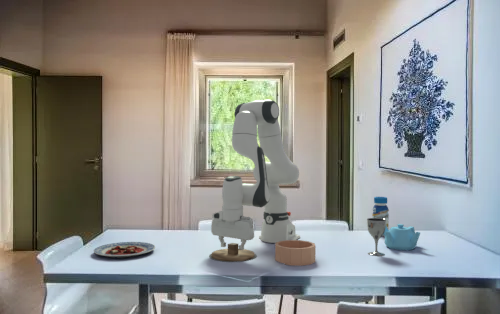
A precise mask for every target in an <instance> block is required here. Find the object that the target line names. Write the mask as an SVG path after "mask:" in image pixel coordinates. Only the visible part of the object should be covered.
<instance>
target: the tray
mask: <svg viewBox="0 0 500 314" xmlns="http://www.w3.org/2000/svg"><path fill="white" fill-rule="evenodd" d="M208 257H209V259H211V260H213V261H217V262H222V263H241V262H249V261H253V260H255V259H257V257H258V256H257V254H256V253H255V256H254V258H252V259H249V260H245V261H220V260H216V259H214V258H212V253H211V254H209V256H208Z"/></svg>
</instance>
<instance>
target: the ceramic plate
mask: <svg viewBox="0 0 500 314" xmlns="http://www.w3.org/2000/svg"><path fill="white" fill-rule="evenodd" d="M155 249H156V245H155V244H154V243H150V242H145V241H122V242H121V241H119V242H113V243H108V244H104V245H99V246H97V247H95V248H94V249H93V253H94V254H96V255H98V256H103V257H109V258H115V257H117V258H120V259H121V258H131V257H133V258H134V257H137V256H140V255H143V254H147V253H150V252H152V251H154V250H155Z"/></svg>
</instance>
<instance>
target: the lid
mask: <svg viewBox="0 0 500 314" xmlns="http://www.w3.org/2000/svg"><path fill="white" fill-rule="evenodd" d="M211 254H212V258H214V259H216V260H220V261H219V262H221V261H244V262H246V261H245V260H249V259H252V258H254V256H255V254H256V253H255V252H254V251H253V250H250V249H245V248H244V250H239V243H236V242H230V243H228V244H227V248H223V249H217V250H214V251H212V252H211ZM216 260H215V261H216ZM249 261H250V260H249Z"/></svg>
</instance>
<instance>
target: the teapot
mask: <svg viewBox="0 0 500 314" xmlns="http://www.w3.org/2000/svg"><path fill="white" fill-rule="evenodd" d="M396 225H397V226H391V227H390V228H389V227H388V228H387V226H386V229H385V233H384V236H383V237H384V244H385V246H386V247H387V248H388V249H391V250H396V251H397V250H398V251H411V250H412V251H413V250H414V249H415V248H416V247H417V244H418V241H419V238H420V235H421V232H420V231H415V226H411V225H410V226H408V227H407V226H404V224H403V223H398V224H396Z"/></svg>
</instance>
